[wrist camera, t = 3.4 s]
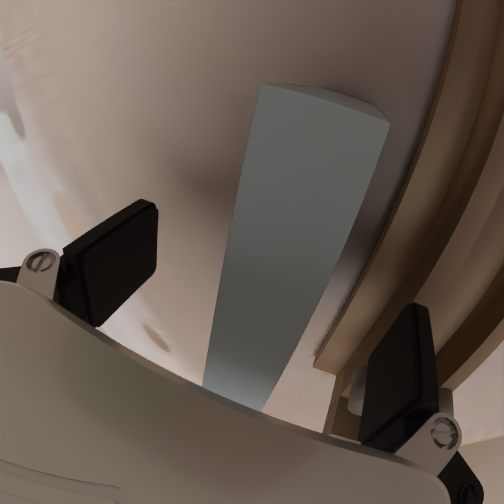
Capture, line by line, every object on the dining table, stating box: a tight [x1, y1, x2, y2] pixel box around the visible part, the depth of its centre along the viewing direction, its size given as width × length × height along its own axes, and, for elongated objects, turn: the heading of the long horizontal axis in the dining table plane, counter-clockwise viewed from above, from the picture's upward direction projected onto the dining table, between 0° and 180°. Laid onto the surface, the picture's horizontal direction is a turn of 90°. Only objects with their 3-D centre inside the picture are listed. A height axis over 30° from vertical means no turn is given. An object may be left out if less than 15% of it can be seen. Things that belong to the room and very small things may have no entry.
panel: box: [202, 83, 391, 412], centre depth 11 cm, size 2×12×8 cm, turn 167°
